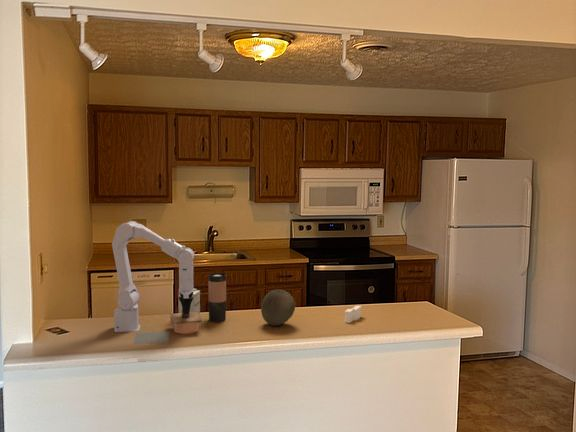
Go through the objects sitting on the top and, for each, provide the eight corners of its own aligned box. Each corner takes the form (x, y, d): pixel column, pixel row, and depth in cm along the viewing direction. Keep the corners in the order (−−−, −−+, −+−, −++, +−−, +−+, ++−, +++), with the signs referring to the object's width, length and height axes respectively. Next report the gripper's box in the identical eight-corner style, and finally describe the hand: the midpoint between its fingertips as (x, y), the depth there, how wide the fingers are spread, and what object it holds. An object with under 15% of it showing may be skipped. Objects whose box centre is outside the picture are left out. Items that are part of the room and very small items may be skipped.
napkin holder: (359, 315, 246) (359, 303, 246) (372, 322, 236) (373, 309, 235) (330, 318, 240) (330, 306, 240) (343, 326, 230) (343, 312, 229)
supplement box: (194, 323, 229) (194, 294, 228) (178, 322, 231) (177, 293, 230) (200, 318, 237) (200, 290, 235) (184, 317, 238) (184, 289, 237)
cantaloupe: (266, 331, 219) (266, 295, 218) (257, 321, 233) (257, 287, 231) (299, 328, 224) (299, 293, 222) (288, 318, 237) (288, 285, 236)
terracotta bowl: (173, 335, 213) (173, 323, 213) (174, 327, 223) (174, 315, 223) (199, 334, 215) (199, 322, 214) (199, 326, 225) (198, 314, 224)
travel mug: (229, 319, 236) (229, 274, 234) (218, 323, 230) (218, 277, 228) (216, 316, 240) (216, 272, 238) (204, 320, 234) (204, 275, 232)
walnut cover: (171, 324, 211) (170, 314, 211) (170, 315, 223) (170, 306, 222) (201, 322, 214) (201, 312, 214) (199, 313, 226) (199, 305, 225)
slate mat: (133, 345, 201) (132, 343, 201) (136, 334, 214) (136, 332, 214) (168, 343, 204) (168, 342, 204) (170, 332, 216) (170, 331, 216)
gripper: (196, 282, 210) (196, 316, 212) (196, 274, 225) (196, 306, 226) (177, 282, 209) (178, 316, 210) (179, 275, 223) (179, 307, 225)
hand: (186, 311), depth 218 cm, fingers open, 7 cm apart
